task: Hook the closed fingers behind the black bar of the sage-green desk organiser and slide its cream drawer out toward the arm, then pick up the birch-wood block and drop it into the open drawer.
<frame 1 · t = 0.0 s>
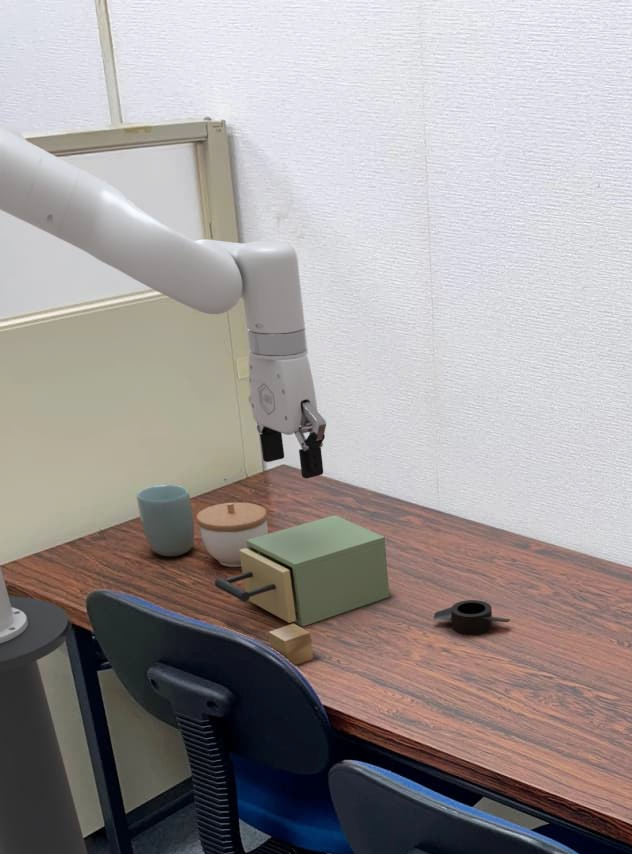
hand: (293, 467, 169), 20 cm above the table, tool pointing down, fingers open, 9 cm apart
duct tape: (472, 628, 173), on the table
block: (292, 658, 163), on the table
organiser: (322, 598, 180), on the table
cup: (173, 553, 194), on the table
drawer: (289, 578, 174), point 5 cm above the table, slide at 0.5 cm
trinket box: (238, 560, 192), on the table
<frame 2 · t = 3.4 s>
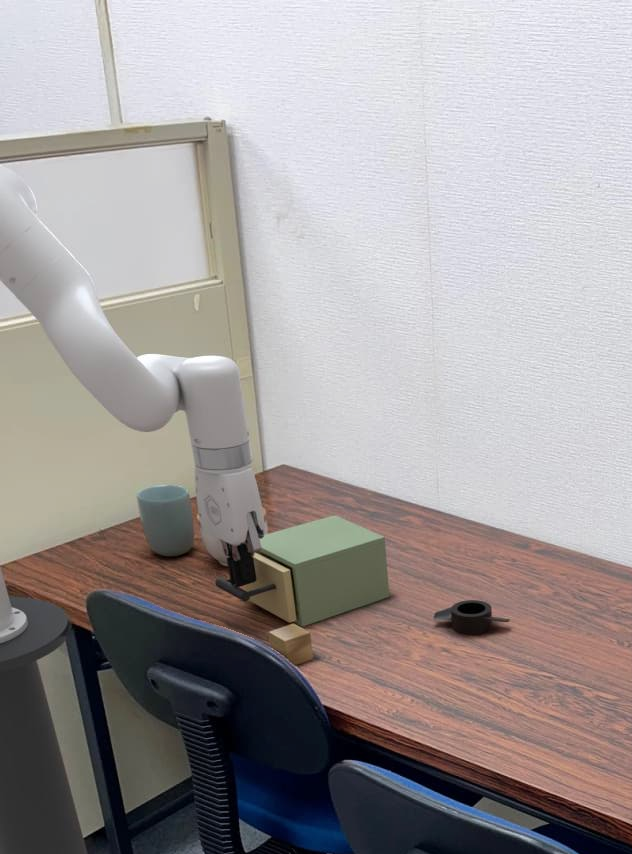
hand: (244, 582, 169), 6 cm above the table, tool pointing down, fingers closed
drawer: (290, 578, 174), point 5 cm above the table, slide at 0.4 cm, touching gripper
everything else where it was.
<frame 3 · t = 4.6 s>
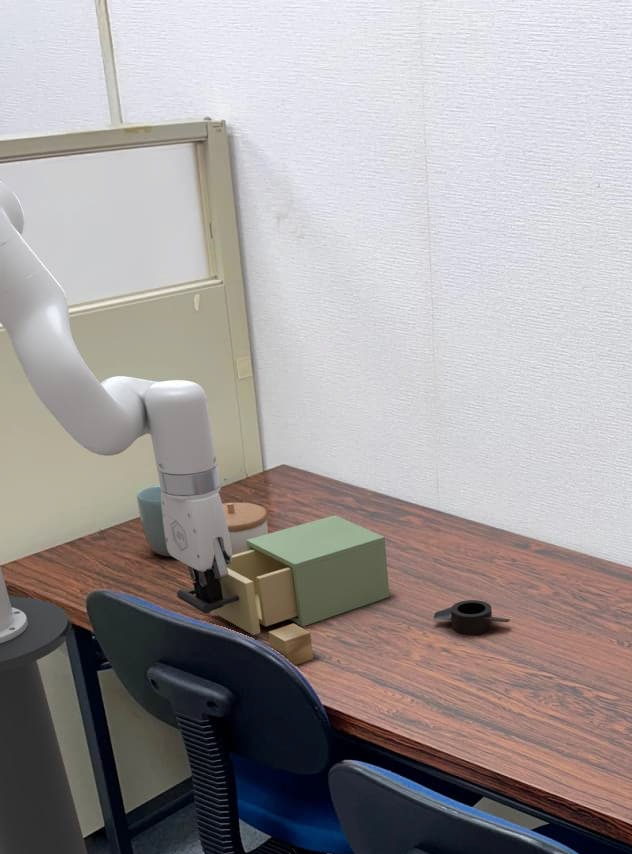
hand: (211, 607, 167), 4 cm above the table, tool pointing down, fingers closed
drawer: (254, 589, 171), point 5 cm above the table, slide at 6.4 cm, touching gripper
everything else where it was.
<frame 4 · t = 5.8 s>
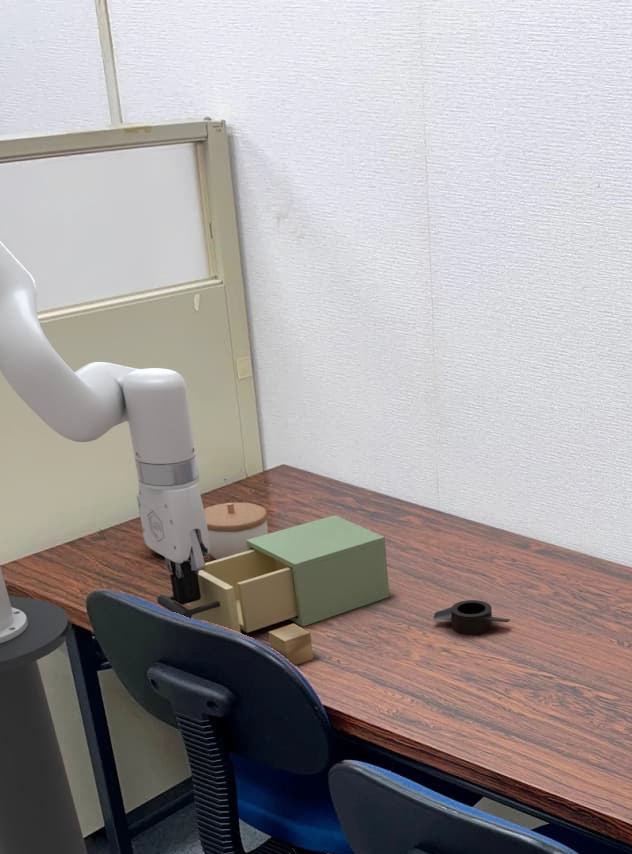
hand: (187, 600, 164), 6 cm above the table, tool pointing down, fingers closed
drawer: (236, 594, 169), point 5 cm above the table, slide at 9.4 cm
everything else where it was.
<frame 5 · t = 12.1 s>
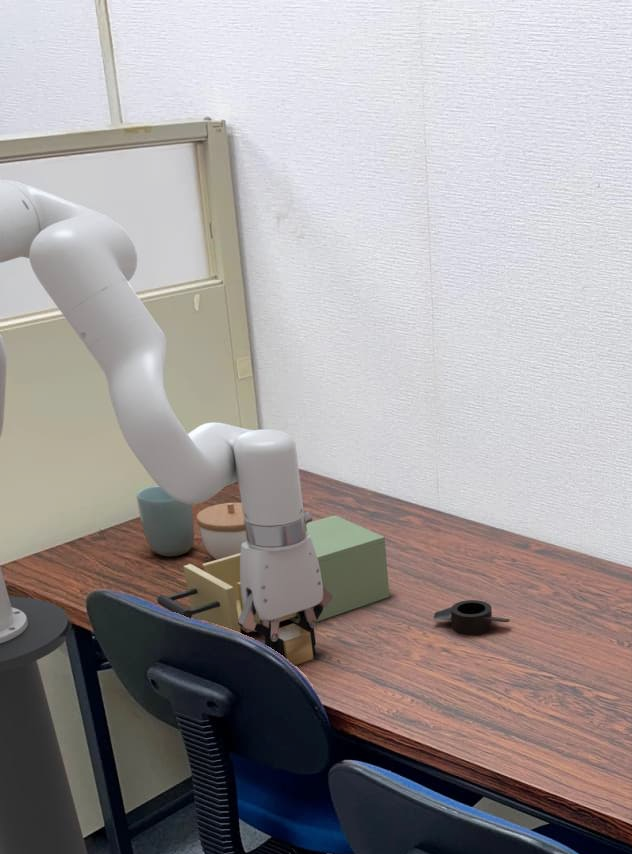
hand: (292, 656, 163), 0 cm above the table, tool pointing down, fingers closed on block, 4 cm apart
block: (292, 658, 163), on the table, touching gripper
everything else where it was.
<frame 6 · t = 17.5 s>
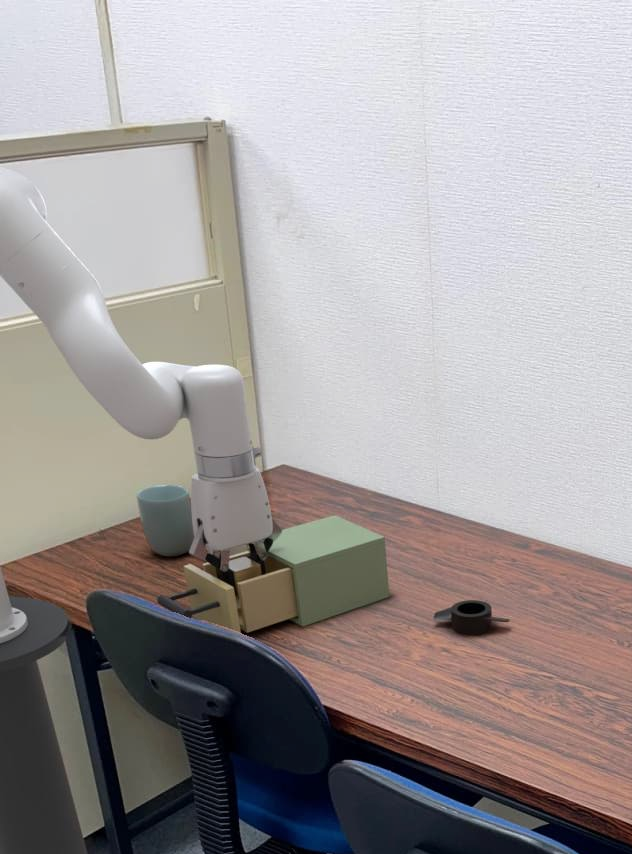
hand: (243, 588, 169), 5 cm above the table, tool pointing down, fingers closed on block, 4 cm apart
block: (243, 590, 170), point 5 cm above the table, touching gripper
everything else where it was.
when the fingers open (8 cm above the table, at t = 27.7 s): block drops 6 cm, resting on drawer.
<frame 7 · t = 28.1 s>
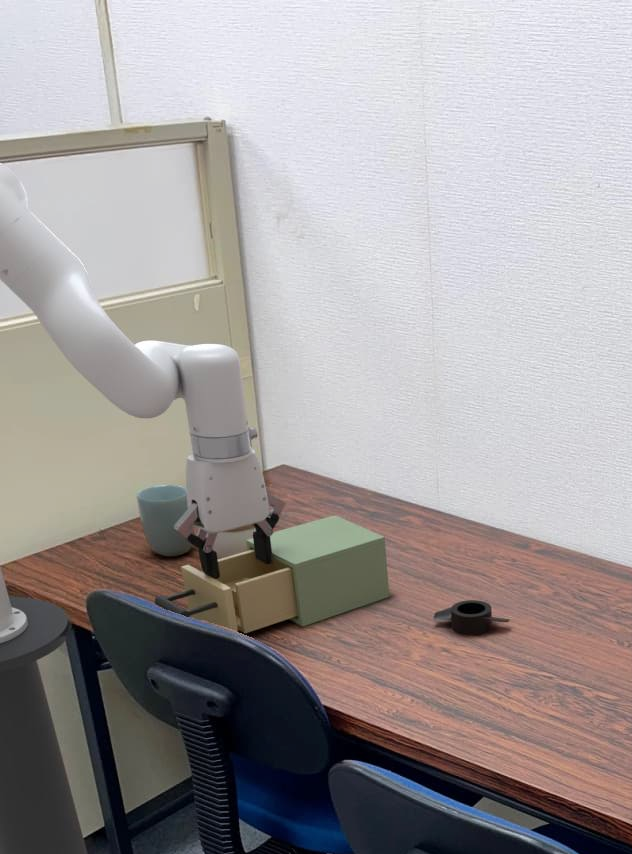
hand: (238, 567, 167), 9 cm above the table, tool pointing down, fingers open, 7 cm apart
block: (246, 610, 171), point 2 cm above the table, touching drawer
drawer: (234, 595, 169), point 5 cm above the table, slide at 9.8 cm, touching block, gripper
everything else where it was.
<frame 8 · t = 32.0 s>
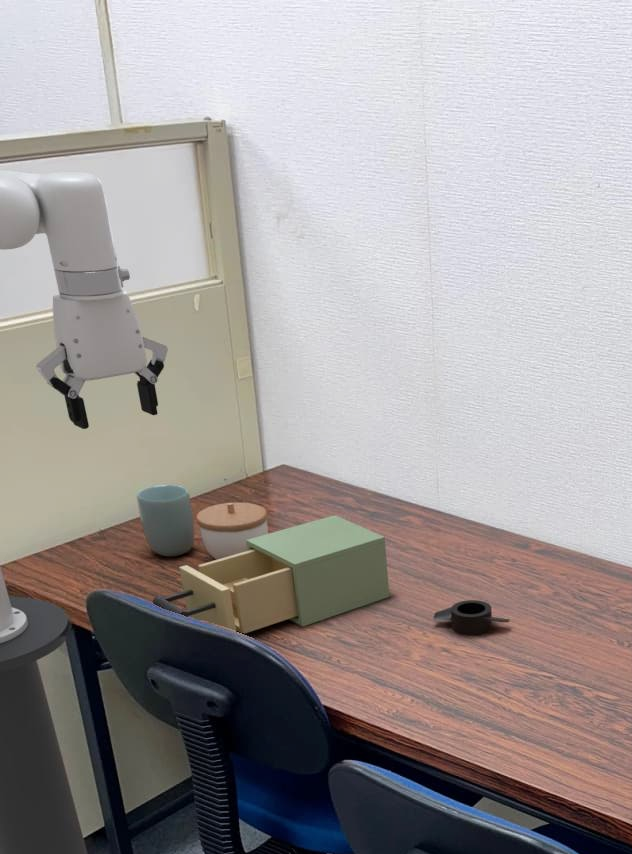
hand: (116, 419, 159), 28 cm above the table, tool pointing down, fingers open, 9 cm apart
drawer: (232, 596, 168), point 5 cm above the table, slide at 10.0 cm, touching block
everything else where it was.
at the end: drawer slide at 10.0 cm; block inside the target area in the drawer (1.6 cm from its centre), point 2.0 cm above the organiser's base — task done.
